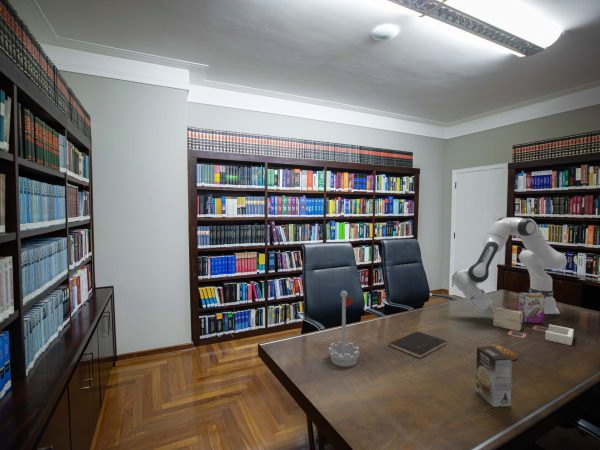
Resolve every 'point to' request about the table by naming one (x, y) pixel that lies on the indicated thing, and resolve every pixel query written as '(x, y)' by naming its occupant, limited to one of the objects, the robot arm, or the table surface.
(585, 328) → the table surface
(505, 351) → the pastry
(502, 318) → the maple block
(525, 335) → the plate
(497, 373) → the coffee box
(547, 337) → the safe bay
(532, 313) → the candy bar box
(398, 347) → the hardcover book
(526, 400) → the table surface
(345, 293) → the flag stand
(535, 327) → the plate
